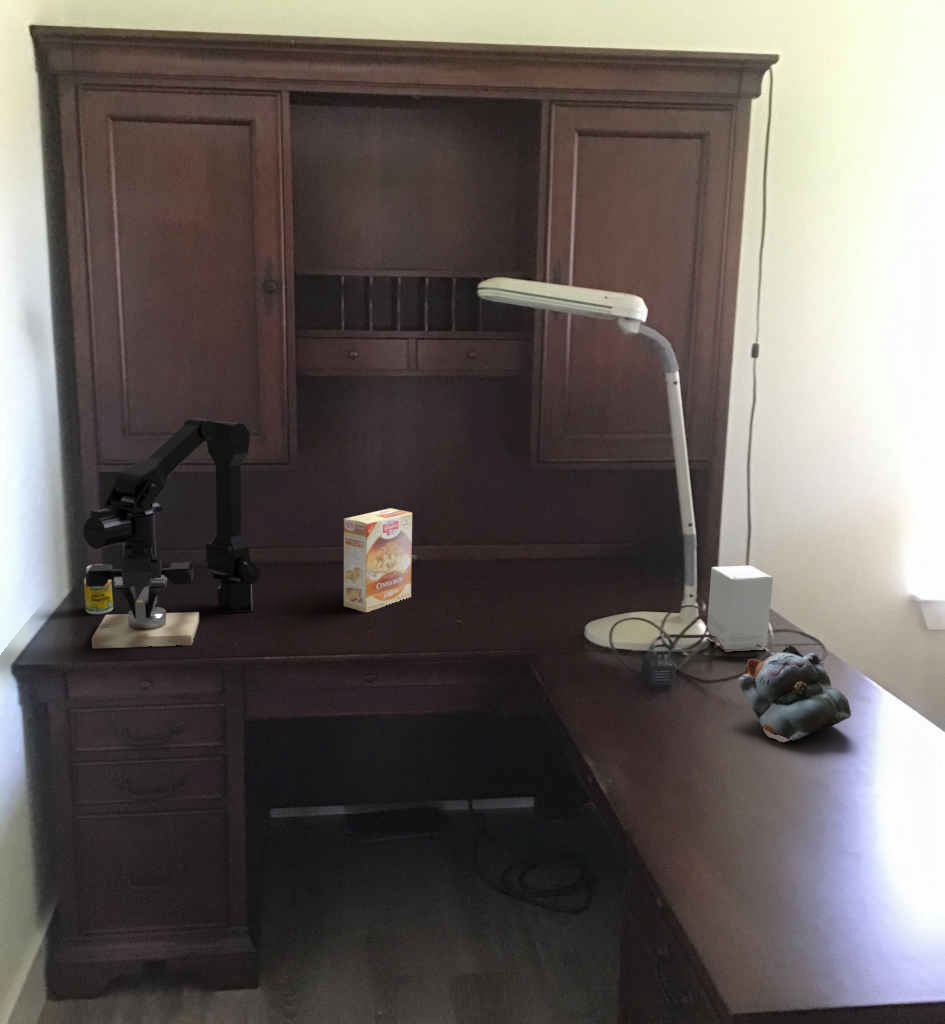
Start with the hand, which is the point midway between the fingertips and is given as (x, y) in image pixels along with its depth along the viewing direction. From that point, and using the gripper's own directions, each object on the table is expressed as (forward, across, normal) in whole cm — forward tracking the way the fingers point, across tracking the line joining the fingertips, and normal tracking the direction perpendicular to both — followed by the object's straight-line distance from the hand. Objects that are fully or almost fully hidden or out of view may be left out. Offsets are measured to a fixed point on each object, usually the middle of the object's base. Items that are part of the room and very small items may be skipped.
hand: (142, 618), depth 191 cm
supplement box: (+4, +114, -17) cm, 115 cm away
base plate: (+5, 0, +5) cm, 7 cm away
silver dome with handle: (+3, 0, +5) cm, 6 cm away
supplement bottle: (+5, -11, +21) cm, 25 cm away
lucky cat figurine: (+4, +104, -55) cm, 118 cm away
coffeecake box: (+5, +47, +20) cm, 51 cm away
